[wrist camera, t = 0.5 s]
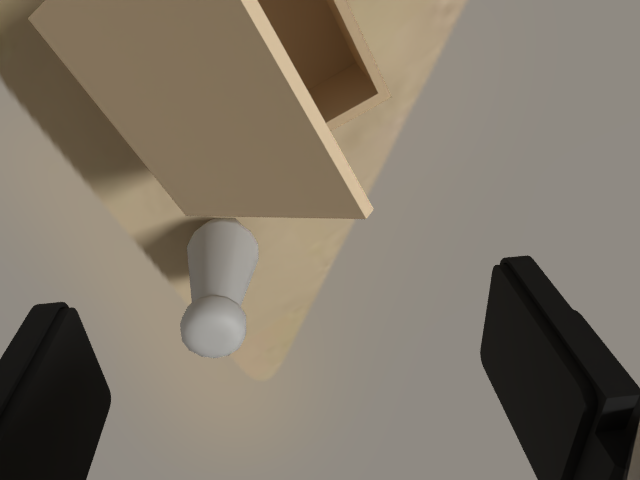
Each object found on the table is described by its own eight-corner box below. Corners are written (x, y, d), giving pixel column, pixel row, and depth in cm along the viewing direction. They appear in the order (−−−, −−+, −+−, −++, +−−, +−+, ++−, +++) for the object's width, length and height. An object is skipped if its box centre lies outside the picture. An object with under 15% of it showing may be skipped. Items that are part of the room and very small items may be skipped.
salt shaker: (202, 271, 45) (181, 380, 34) (181, 216, 42) (151, 316, 31) (266, 258, 45) (266, 363, 34) (250, 202, 42) (244, 297, 31)
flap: (181, -136, 14) (166, -130, 14) (373, 209, 21) (366, 219, 21) (37, 12, 25) (27, 18, 25) (192, 209, 32) (185, 215, 31)
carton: (274, -129, 31) (276, -150, 23) (365, 64, 37) (391, 97, 29) (91, -5, 33) (38, 12, 26) (206, 155, 40) (192, 207, 32)
